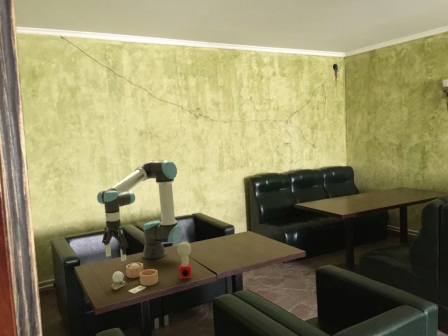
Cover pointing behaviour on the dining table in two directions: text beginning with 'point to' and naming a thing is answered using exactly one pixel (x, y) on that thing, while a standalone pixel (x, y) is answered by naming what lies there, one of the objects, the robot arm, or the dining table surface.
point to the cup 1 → (134, 270)
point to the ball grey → (118, 277)
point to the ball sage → (134, 266)
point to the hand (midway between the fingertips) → (116, 258)
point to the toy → (184, 260)
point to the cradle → (118, 285)
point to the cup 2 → (148, 277)
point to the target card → (137, 289)
